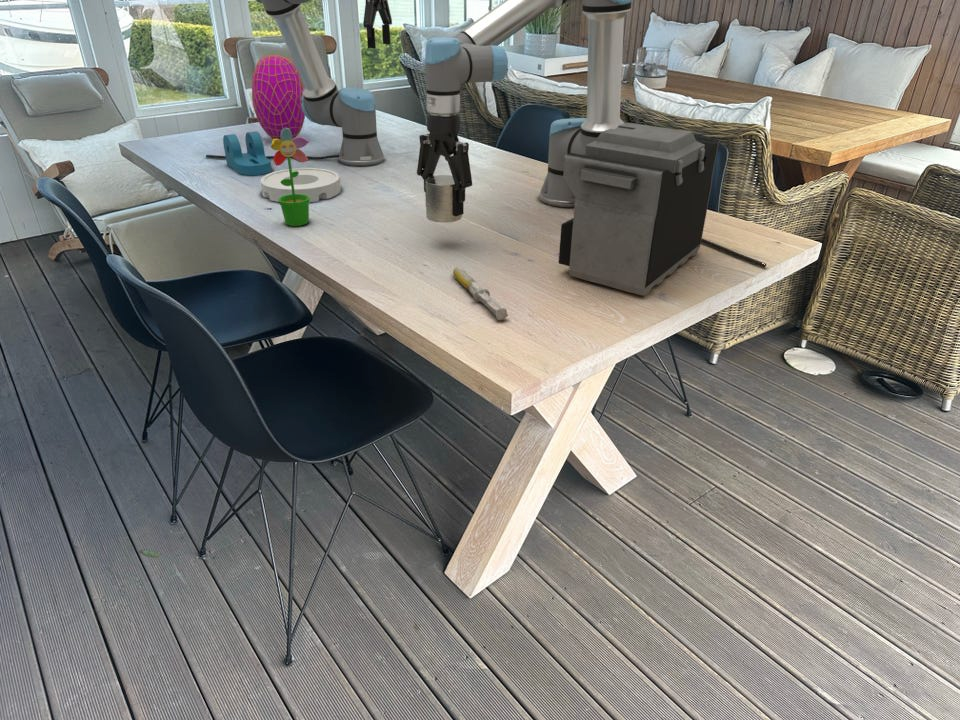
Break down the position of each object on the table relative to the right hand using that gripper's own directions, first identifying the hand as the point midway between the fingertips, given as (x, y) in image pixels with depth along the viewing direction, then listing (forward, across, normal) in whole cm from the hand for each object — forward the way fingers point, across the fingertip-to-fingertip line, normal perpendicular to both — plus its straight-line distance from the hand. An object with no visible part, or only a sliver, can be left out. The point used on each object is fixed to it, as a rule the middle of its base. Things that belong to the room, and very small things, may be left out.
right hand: (444, 210), depth 166 cm
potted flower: (+9, -40, -15) cm, 44 cm away
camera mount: (+9, -96, +5) cm, 96 cm away
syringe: (+9, +26, -17) cm, 33 cm away
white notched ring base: (+9, -62, +2) cm, 63 cm away
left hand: (-25, -97, +65) cm, 119 cm away
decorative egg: (+9, -123, +36) cm, 128 cm away
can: (+2, 0, 0) cm, 2 cm away
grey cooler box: (+9, +40, +21) cm, 47 cm away
